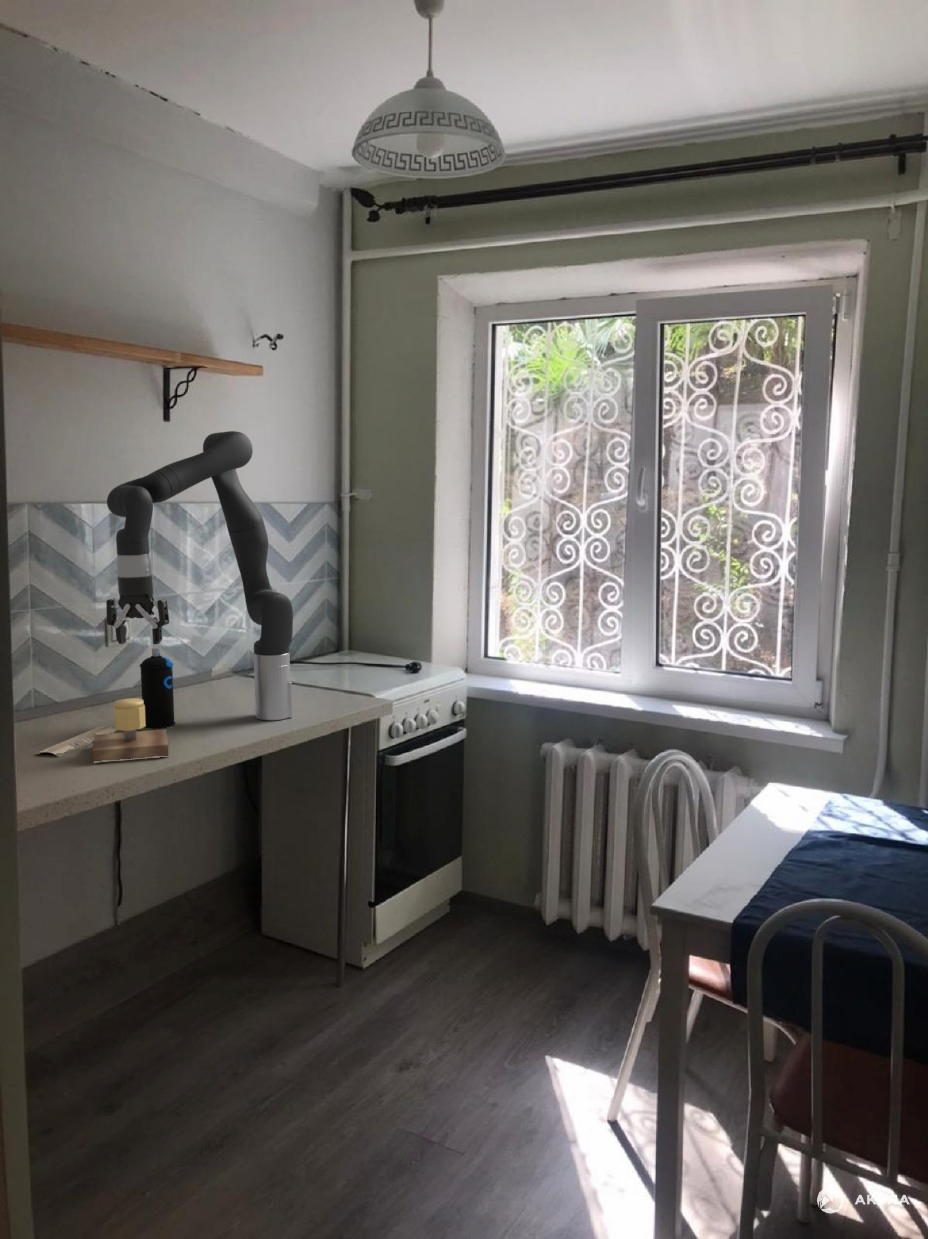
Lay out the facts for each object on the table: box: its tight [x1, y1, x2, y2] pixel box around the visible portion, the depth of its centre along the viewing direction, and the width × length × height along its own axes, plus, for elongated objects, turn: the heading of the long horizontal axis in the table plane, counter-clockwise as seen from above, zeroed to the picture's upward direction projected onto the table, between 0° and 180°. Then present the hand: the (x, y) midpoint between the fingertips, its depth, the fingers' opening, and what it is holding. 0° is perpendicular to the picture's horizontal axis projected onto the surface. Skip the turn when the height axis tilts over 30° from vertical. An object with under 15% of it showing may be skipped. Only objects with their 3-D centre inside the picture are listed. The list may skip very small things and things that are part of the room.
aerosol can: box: [139, 647, 177, 730], centre depth 253 cm, size 8×8×20 cm
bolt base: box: [92, 729, 169, 761], centre depth 229 cm, size 16×14×11 cm
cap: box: [112, 697, 146, 732], centre depth 228 cm, size 6×6×6 cm
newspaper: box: [37, 725, 118, 756], centre depth 237 cm, size 24×7×2 cm, turn 166°
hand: (139, 643), depth 230 cm, fingers open, 8 cm apart
